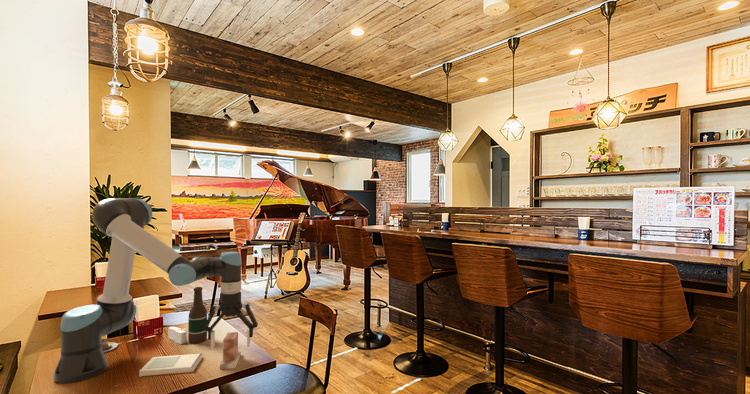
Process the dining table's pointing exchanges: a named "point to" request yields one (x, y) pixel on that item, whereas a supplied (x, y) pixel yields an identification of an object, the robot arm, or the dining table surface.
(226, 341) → the stub
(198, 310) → the beer bottle
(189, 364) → the white flat block
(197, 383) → the dining table surface
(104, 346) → the pastry
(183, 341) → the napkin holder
